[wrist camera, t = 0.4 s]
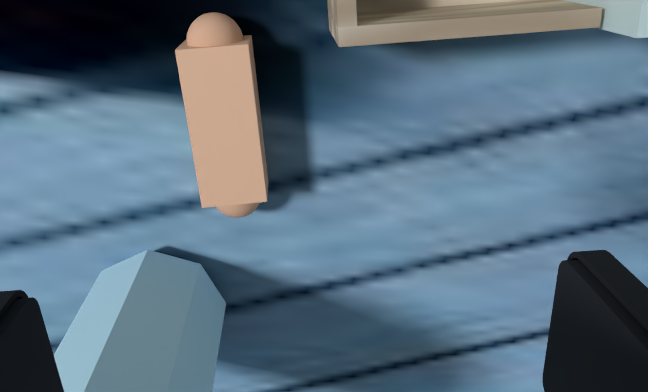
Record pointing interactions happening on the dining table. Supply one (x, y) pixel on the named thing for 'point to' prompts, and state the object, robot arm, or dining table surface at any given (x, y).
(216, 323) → the water bottle
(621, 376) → the robot arm
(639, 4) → the tailgate
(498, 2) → the crate
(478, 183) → the dining table surface
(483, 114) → the dining table surface
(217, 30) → the dome-capped square column
